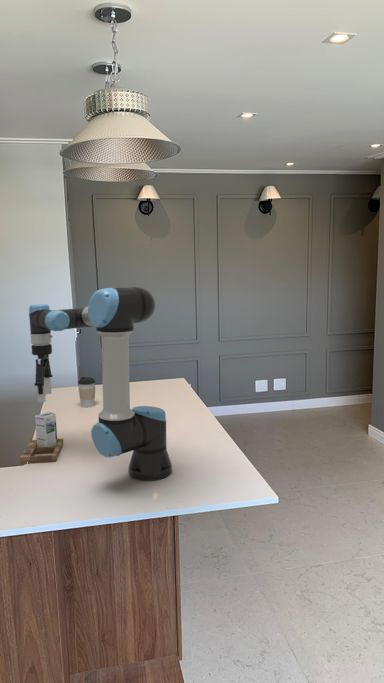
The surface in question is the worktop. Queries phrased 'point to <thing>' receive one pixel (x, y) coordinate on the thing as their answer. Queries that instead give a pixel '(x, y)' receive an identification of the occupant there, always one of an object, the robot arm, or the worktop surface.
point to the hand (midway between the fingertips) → (45, 397)
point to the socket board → (33, 449)
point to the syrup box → (46, 429)
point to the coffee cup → (87, 391)
